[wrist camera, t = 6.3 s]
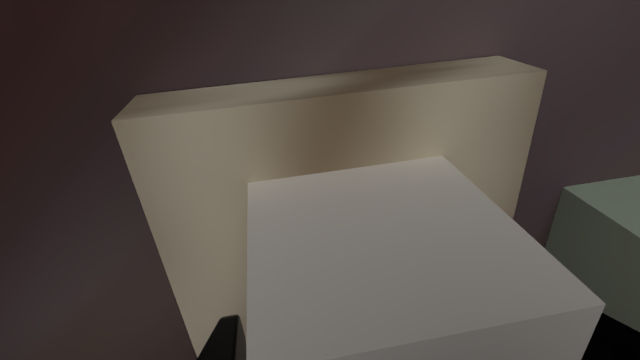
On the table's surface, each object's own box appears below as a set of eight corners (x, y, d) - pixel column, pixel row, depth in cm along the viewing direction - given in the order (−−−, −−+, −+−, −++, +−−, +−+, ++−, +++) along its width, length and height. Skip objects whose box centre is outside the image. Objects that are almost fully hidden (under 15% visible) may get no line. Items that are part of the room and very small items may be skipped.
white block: (442, 155, 9) (605, 304, 5) (427, 294, 12) (530, 474, 8) (247, 183, 9) (246, 376, 5) (274, 323, 11) (289, 535, 7)
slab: (498, 55, 11) (547, 70, 9) (460, 284, 15) (488, 324, 13) (136, 95, 9) (111, 121, 8) (211, 330, 14) (205, 380, 12)
